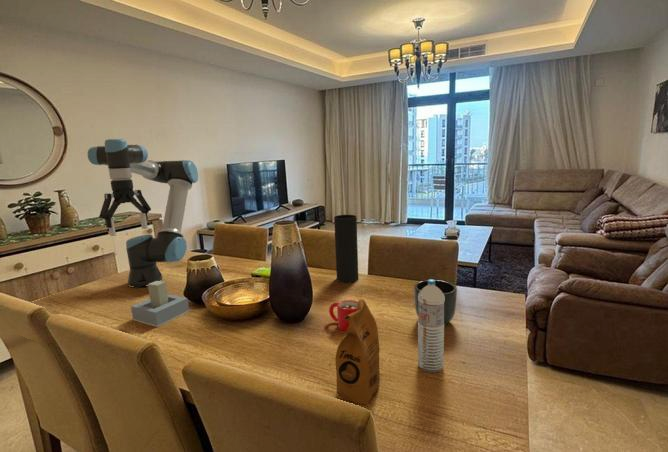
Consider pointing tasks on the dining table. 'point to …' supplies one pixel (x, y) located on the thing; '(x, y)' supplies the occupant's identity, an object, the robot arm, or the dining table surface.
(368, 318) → the coffee package
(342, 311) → the mug
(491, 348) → the dining table surface
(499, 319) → the dining table surface
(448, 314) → the planter
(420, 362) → the water bottle
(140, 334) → the dining table surface
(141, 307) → the socket
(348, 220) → the vase
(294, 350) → the dining table surface
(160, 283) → the box
